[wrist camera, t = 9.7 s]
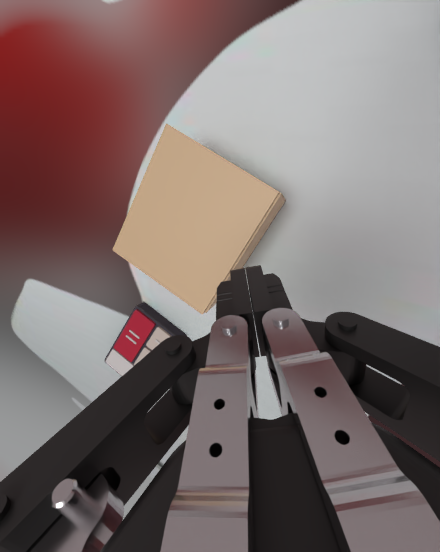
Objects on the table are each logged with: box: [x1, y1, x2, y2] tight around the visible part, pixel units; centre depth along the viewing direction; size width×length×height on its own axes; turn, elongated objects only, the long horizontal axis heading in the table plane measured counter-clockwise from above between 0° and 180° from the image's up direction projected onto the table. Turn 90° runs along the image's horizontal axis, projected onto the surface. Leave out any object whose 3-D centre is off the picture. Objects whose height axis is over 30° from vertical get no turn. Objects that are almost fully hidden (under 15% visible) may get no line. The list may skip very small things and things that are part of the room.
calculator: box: [105, 302, 187, 376], centre depth 50 cm, size 11×4×15 cm
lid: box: [113, 124, 280, 314], centre depth 32 cm, size 16×18×1 cm
